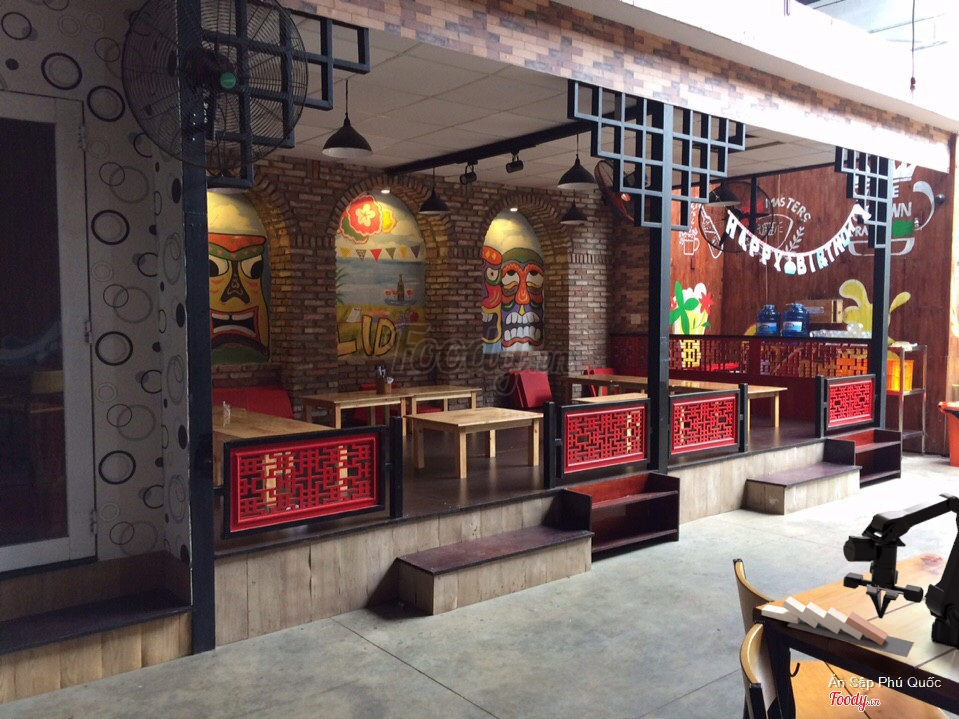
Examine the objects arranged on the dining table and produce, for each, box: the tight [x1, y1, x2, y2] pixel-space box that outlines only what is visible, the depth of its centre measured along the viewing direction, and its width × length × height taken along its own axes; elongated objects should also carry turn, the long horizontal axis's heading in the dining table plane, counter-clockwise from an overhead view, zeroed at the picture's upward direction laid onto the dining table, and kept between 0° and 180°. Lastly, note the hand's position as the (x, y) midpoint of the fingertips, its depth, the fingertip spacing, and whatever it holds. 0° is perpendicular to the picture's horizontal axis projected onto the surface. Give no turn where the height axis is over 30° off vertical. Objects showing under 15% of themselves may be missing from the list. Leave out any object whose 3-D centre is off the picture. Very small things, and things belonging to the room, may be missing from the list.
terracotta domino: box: [845, 611, 889, 645], centre depth 213 cm, size 2×5×10 cm
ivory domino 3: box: [803, 601, 841, 634], centre depth 220 cm, size 2×5×10 cm
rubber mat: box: [787, 619, 915, 658], centre depth 216 cm, size 30×12×1 cm, turn 53°
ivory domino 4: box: [824, 606, 863, 640], centre depth 217 cm, size 2×5×10 cm
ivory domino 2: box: [781, 595, 819, 628], centre depth 224 cm, size 2×5×10 cm
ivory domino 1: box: [761, 604, 801, 624], centre depth 227 cm, size 2×5×10 cm
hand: (880, 618), depth 211 cm, fingers closed
